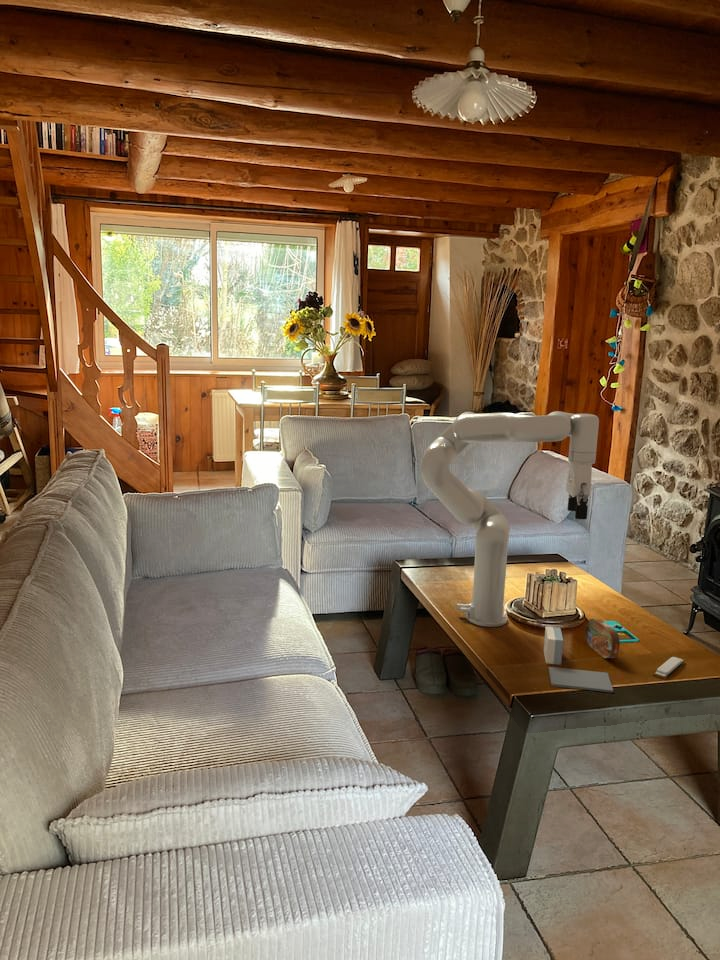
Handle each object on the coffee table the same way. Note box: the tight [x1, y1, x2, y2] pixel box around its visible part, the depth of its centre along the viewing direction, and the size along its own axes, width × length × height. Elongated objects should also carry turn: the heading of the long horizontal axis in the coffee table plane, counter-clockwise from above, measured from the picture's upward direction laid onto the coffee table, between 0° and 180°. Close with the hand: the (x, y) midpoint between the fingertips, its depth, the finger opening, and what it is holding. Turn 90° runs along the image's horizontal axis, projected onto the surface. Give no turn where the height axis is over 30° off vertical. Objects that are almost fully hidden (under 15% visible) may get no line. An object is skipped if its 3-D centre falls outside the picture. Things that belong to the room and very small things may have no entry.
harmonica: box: [652, 656, 685, 681], centre depth 203 cm, size 15×3×2 cm, turn 138°
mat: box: [548, 666, 614, 693], centre depth 194 cm, size 15×10×1 cm, turn 80°
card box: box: [543, 626, 564, 666], centre depth 207 cm, size 4×9×7 cm, turn 170°
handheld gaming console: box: [603, 620, 640, 643], centre depth 227 cm, size 8×1×15 cm
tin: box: [585, 618, 621, 659], centre depth 212 cm, size 15×3×8 cm, turn 10°
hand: (576, 514), depth 221 cm, fingers open, 9 cm apart
